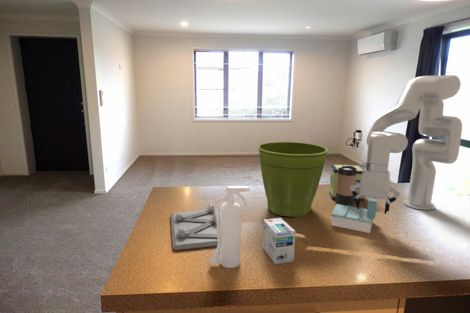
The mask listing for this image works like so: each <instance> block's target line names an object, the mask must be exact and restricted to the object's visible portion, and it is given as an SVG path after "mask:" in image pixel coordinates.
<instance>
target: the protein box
mask: <svg viewBox="0 0 470 313" xmlns="http://www.w3.org/2000/svg"><path fill="white" fill-rule="evenodd" d="M330 166H331V167H330V177H329V191H328V193H329V195H330V197H331V199H332V200H333V201H336V189H337V178H338V168H341V167H342V166H350V167H354V168H356V169H357V171H356V183H355V184H357V183H360V181H361V175H362V172H363V169H365V167H364V166H362V165H353V164H351V165H349V164H347V165H345V164H331V165H330ZM355 191H356V192H357V193H359V187H357V188H355ZM360 198H361V200H360V202H365V199H366V196H361V197H360ZM354 202H356V198H355V196H354Z"/></svg>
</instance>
